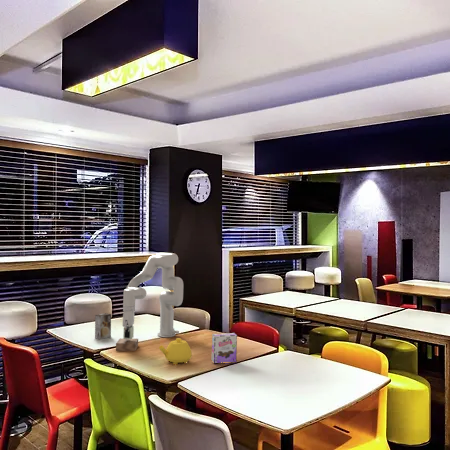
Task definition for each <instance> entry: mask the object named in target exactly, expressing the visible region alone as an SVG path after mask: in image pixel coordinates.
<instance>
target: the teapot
mask: <svg viewBox="0 0 450 450" xmlns="http://www.w3.org/2000/svg"><path fill="white" fill-rule="evenodd" d="M158 349H159V351H160V352H161V353H162V354H163V355H164V357H165V359H166V360H167V361H170V362H169V363H172V365H173V364H179V363H183V362H184V363H186V362H188V361H190V359H191V358H192V356H193V355H192V353H193V351H192V349H191V347H190V345H189V343H188V342H187V341H186V340H184V339H182V338H179V337H177V338H175V340H171V341H170V342H169V343H168V345H167V347H166V348H165V347H164V345H160V346H159V347H158ZM184 363H183V364H184Z"/></svg>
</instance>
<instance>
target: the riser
mask: <svg viewBox="0 0 450 450" xmlns="http://www.w3.org/2000/svg"><path fill="white" fill-rule="evenodd" d="M138 347H139V338H132V339H123V337H121V338H119V339H118V340H117V341H116V343H115V351H118V352H123V351H126V352H132V351H133V352H136V350H137V349H138Z"/></svg>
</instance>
